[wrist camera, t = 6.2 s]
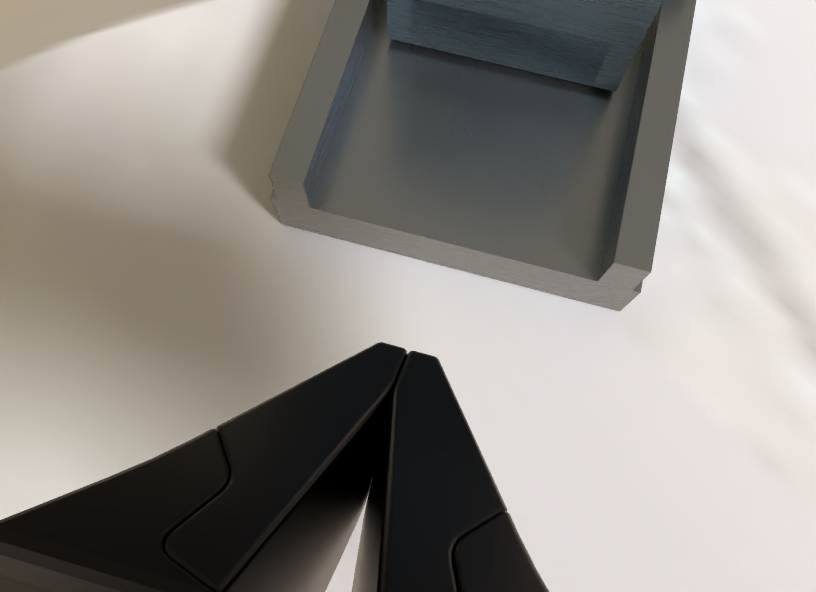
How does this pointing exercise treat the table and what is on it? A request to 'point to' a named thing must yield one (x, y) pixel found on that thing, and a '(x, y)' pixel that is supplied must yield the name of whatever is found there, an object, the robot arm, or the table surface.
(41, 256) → the table surface
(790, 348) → the table surface
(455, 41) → the grey-blue brushed block
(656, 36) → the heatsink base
